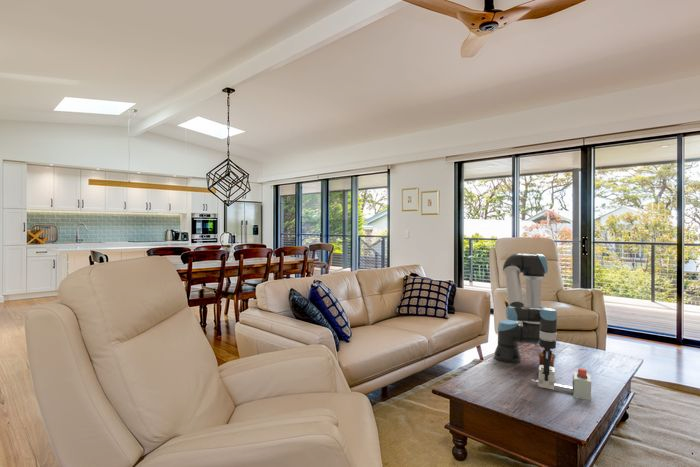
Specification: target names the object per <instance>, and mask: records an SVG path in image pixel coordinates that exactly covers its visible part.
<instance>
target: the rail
mask: <svg viewBox="0 0 700 467" xmlns="http://www.w3.org/2000/svg"><path fill="white" fill-rule="evenodd" d="M538 382H539V379H534V378H533V379H532V378H531V379H530V386H532V387H535V386H536V388H539V387H538ZM541 388H542V389H544V388H543V387H540V389H541ZM545 389H546V390H551V391H557V392H562V393H567V394H572V395H573V386H570V385H566V384H565V385H564V384H560V383H555V382H554V389H549V388H545Z"/></svg>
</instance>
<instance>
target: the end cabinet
mask: <svg viewBox="0 0 700 467" xmlns="http://www.w3.org/2000/svg"><path fill="white" fill-rule="evenodd" d="M591 378H592V377H591V374H589V373H587V376H586V377H580V376H578V371H573V375H572V387H573V394H572V395H573V398H577V399H581V400H586V401H591V400H592V379H591Z"/></svg>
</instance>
